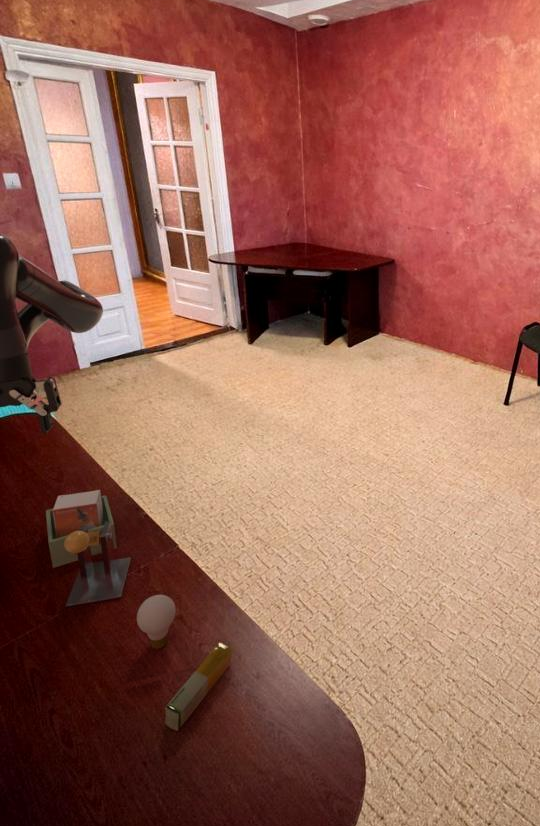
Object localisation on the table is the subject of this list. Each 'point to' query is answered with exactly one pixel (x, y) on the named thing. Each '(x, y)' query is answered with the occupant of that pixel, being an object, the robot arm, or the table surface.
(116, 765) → the table surface
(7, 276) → the robot arm
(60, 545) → the grey-green open bin
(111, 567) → the grey metal angular piece
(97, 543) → the tap lever
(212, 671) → the medication box
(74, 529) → the small box
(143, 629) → the light bulb
